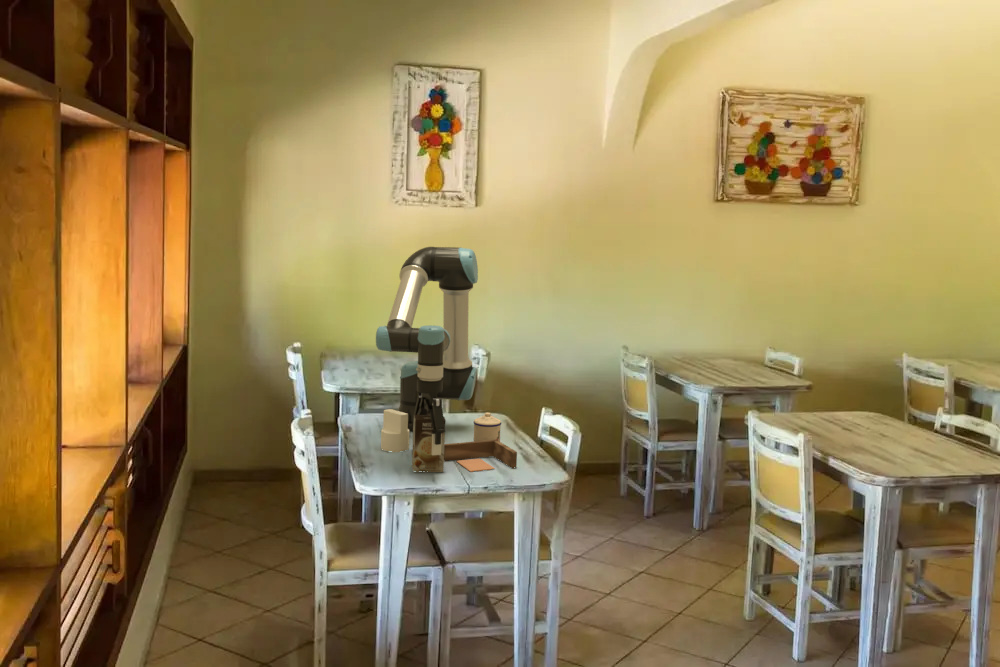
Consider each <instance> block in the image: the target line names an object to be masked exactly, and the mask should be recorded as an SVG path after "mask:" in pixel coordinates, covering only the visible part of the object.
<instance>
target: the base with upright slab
mask: <svg viewBox="0 0 1000 667" xmlns="http://www.w3.org/2000/svg"><path fill="white" fill-rule="evenodd" d="M382 423H383V425H382V426H383V427H382V429H381V432H380V435H381V436H380V445H381V446H380V449H381V450H382V449H383V450H385V451H384V452H387V451H392V452H391V453H401V452H400V451H403V452H406V451H405V450H407V451H408V450H410V431H409V429H408V414H407V413H403V412H400V411H398V410H395V409H392V408H388V409H384V410H383V422H382ZM383 450H382V451H383Z"/></svg>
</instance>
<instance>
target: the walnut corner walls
mask: <svg viewBox="0 0 1000 667" xmlns="http://www.w3.org/2000/svg"><path fill="white" fill-rule="evenodd" d="M489 456H494V457H493V458H495V457H496V458H495V459H497V460H498V459H499V460H498V461H500V460H501V461H502V462H501V461H500V462H501V463H503V462H504V463H505V464H504V463H503V464H504V465H506V464H507V465H508V466H507V465H506V466H507V467H509V466H510V467H512V468H511V469H515V468H514V467H516V468H517V464H518V463H517V461H518V459H517V456H518V451H516V450H514V449H513V448H511V447H510V446H508V445H506V444H504V443H503V442H501V440H500V441H498V440H486V441H474V440H473V441H466V442H465V441H464V442H453V443H445V444H444V460H445V461H444V462H449V461H448V460H451V461H459V460H460V459H462V460H470V459H471V458H473V459H480V458H479V457H483V458H490V457H489ZM510 467H509V468H510Z"/></svg>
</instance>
